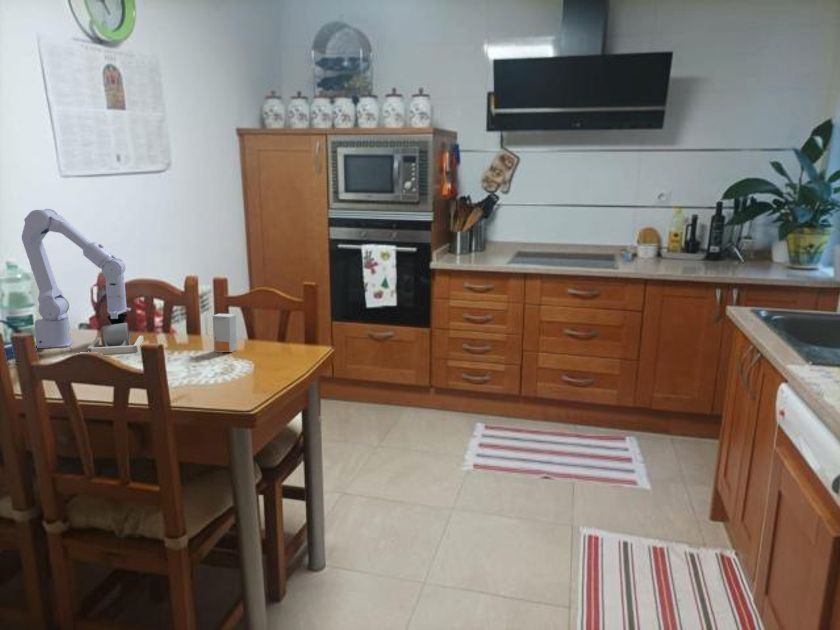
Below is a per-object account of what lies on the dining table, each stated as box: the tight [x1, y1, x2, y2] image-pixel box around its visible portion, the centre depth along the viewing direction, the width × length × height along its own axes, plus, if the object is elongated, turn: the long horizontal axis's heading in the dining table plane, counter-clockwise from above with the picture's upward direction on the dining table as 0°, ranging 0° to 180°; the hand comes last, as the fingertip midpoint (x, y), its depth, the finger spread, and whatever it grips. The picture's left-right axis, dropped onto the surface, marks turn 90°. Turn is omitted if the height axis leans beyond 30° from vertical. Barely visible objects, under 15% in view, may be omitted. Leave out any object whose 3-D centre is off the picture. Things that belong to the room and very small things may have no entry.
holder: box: [86, 335, 145, 355], centre depth 205 cm, size 14×15×2 cm
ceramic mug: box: [100, 322, 131, 347], centre depth 204 cm, size 11×8×8 cm
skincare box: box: [212, 312, 238, 353], centre depth 201 cm, size 6×4×12 cm
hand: (119, 335), depth 211 cm, fingers closed
